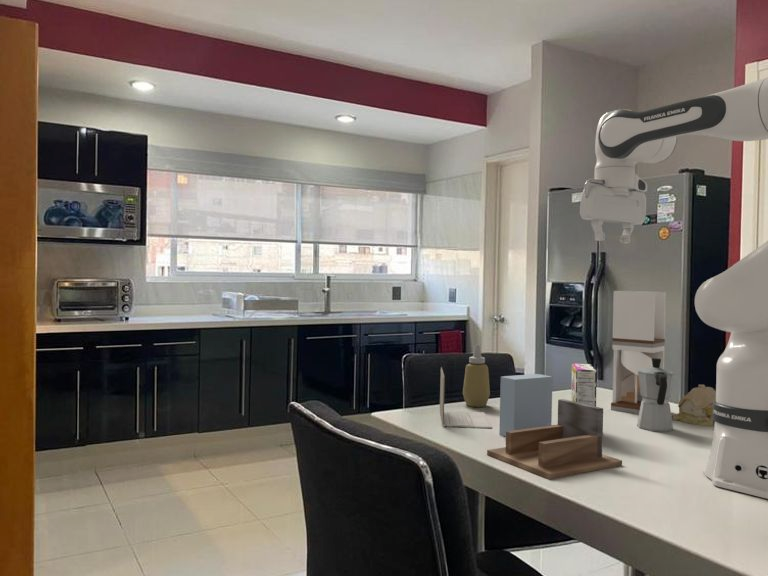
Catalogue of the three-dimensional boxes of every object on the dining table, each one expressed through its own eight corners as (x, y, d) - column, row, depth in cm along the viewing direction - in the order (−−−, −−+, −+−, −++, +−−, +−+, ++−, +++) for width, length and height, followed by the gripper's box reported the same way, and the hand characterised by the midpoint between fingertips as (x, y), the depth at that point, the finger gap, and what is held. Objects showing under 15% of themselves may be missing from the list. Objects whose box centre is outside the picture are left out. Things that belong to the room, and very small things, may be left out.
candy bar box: (569, 427, 156) (571, 363, 156) (590, 428, 155) (591, 364, 155) (574, 437, 145) (575, 368, 145) (596, 439, 144) (597, 369, 144)
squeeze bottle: (462, 402, 186) (463, 343, 186) (489, 403, 185) (490, 344, 185) (462, 407, 178) (463, 345, 178) (490, 408, 177) (491, 346, 177)
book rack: (621, 465, 123) (623, 410, 123) (549, 479, 113) (550, 420, 113) (556, 444, 139) (557, 395, 139) (487, 454, 129) (488, 402, 129)
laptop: (492, 430, 153) (493, 378, 153) (441, 428, 153) (443, 376, 153) (484, 414, 171) (485, 368, 171) (439, 413, 171) (440, 367, 171)
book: (551, 434, 148) (552, 376, 148) (513, 439, 142) (514, 379, 142) (536, 429, 153) (537, 373, 153) (499, 434, 147) (500, 376, 147)
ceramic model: (695, 426, 160) (696, 388, 160) (665, 417, 171) (666, 381, 171) (738, 424, 164) (739, 387, 164) (706, 415, 175) (707, 380, 175)
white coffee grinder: (610, 409, 180) (613, 290, 179) (623, 404, 188) (626, 291, 187) (651, 415, 172) (654, 291, 172) (663, 410, 180) (665, 291, 180)
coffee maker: (631, 421, 164) (633, 354, 164) (666, 423, 163) (668, 356, 162) (643, 434, 150) (645, 361, 150) (682, 437, 148) (684, 363, 148)
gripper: (597, 175, 134) (595, 238, 134) (651, 185, 145) (650, 243, 145) (573, 178, 139) (572, 239, 139) (628, 188, 150) (626, 244, 150)
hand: (612, 241), depth 142 cm, fingers open, 8 cm apart
